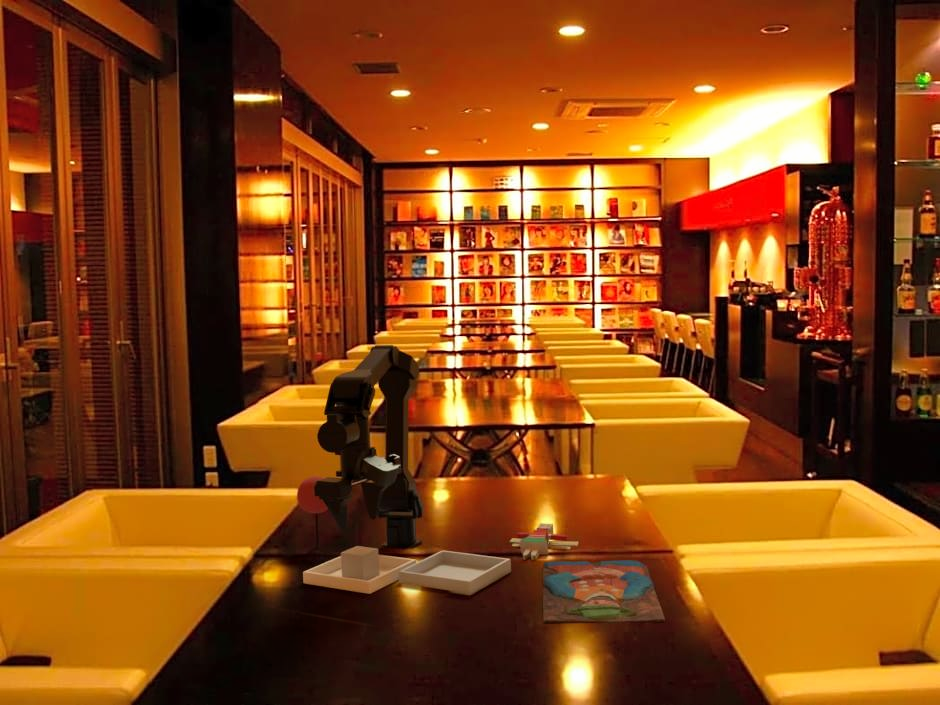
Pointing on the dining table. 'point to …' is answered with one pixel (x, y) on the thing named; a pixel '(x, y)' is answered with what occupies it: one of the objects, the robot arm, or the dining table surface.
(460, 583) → the bin
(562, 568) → the plaque
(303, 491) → the lollipop
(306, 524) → the dining table surface
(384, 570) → the bin
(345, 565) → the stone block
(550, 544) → the toy
